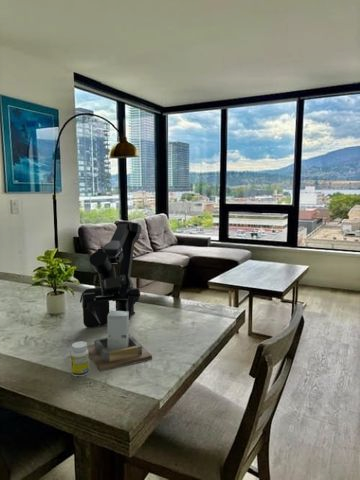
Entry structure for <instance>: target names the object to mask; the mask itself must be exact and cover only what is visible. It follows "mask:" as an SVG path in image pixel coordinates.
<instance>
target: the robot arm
mask: <svg viewBox="0 0 360 480" xmlns="http://www.w3.org/2000/svg"><path fill="white" fill-rule="evenodd" d="M141 233H142V225H141V224H139V222H132V221H130V220H119V221H117V226H116V227H115V230H114V233H113V235H112V236H111V239H110V241H109V242H107V243H105V244H104V245H103V246H102V248H101V247H99V248H97V251H95V252H93V253H92V254H91V255H90V256H89V259H88V261H89V263H90V265H91V266H92V267H93V269H94V271H95V272H96V273H98V278H99V284H100V287H101V292H102V296H95V292H93V293H84V294H83V295H82V294H81V295H82V301H81V307H82V309H83V308H87V310H90V311H91V312H92V313H93V314H94V316H95V317H96V319H97V320H98V322H99V324H101V317H100V313H99V309H98V304H97V302H103V301H109V302H110V301H112V302H115V311H128V312H129V321H131V316H133V315H135V314H136V312H135V304H136V303H137V302H138V303H139V301H140V297H141V291H140V289H139V288H138V287H135V288H134V284H133V281H132V278H131V274H132V266H133V256H134V248H135V244H136V243H137V242H138V240H139V238H140V234H141ZM115 264H116V265H117V264H118V265H119V269H118V275H117V274H116V273H117V272H116V268H115ZM116 276H117V277H116Z"/></svg>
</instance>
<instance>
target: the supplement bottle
mask: <svg viewBox="0 0 360 480" xmlns="http://www.w3.org/2000/svg"><path fill="white" fill-rule="evenodd" d="M87 346H88V344H87V342H86V341H81V340H80V341H76V342H73V343H72V344H71V350H72V351H71V352H70V353H71V354H70V359H71V360H70V361H71V374H72V376H74V377H77V376H79V377H85V376H86V375H88V374H89V373H90V360H89V359H90V355H89V352H88V349H87Z"/></svg>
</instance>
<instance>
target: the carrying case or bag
mask: <svg viewBox="0 0 360 480" xmlns="http://www.w3.org/2000/svg"><path fill="white" fill-rule="evenodd" d="M93 292H95V296H102V292H101V286H100V287H93V288H87V289H85V290H84V291H82V292H81V295H80V299H79V303H81V304H82V295H83V294H84V293H93ZM97 304H98V309H99V313H100V317H101V324H99V322H98V320H97V319H96V317H95V316H94V314H93V313H92V312H91V311H90V310H87V308H82V317H83V320H82V321H83V326H85V328H89V329H90V328H98V327H103V326H106V325H107V322H108V321H107V316H108V314H109V312H110V301H103V302H97Z"/></svg>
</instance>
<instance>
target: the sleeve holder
mask: <svg viewBox="0 0 360 480" xmlns="http://www.w3.org/2000/svg"><path fill="white" fill-rule="evenodd" d="M87 349H88V352H89V357H90V358H91V359H92V361H93V362H94V364H95V365H96V367H97V369H98V371H99V372H104V371H107V370H111V369H115V368H119V367H123V366H124V367H125V366H128V365H130V364H131V365H132V364H135V363H139V362H143V361H147V360H152V359H153V355H152V354H151V352H149V351H148V350H147V349H146V348H145V347H144V346H143V345H142V344H141V343H140V342H139V341H138V340H137V339H136V338H135V337H134V336H133V335H131V334H130V333H129V347H128V348H124V349H119V350H115V351H110V352H108V351H107V337H102V338H97V339H94V344H93V343H92V344H89V345H88V344H87Z"/></svg>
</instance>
